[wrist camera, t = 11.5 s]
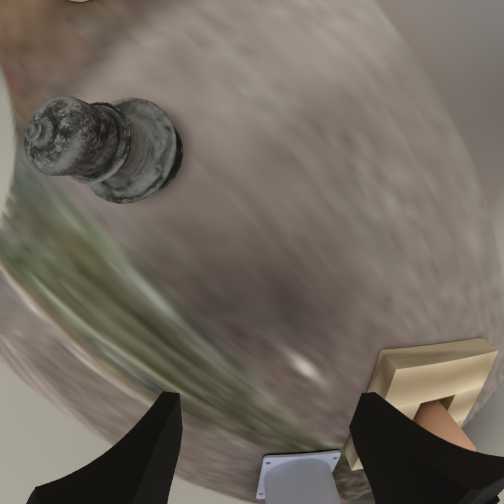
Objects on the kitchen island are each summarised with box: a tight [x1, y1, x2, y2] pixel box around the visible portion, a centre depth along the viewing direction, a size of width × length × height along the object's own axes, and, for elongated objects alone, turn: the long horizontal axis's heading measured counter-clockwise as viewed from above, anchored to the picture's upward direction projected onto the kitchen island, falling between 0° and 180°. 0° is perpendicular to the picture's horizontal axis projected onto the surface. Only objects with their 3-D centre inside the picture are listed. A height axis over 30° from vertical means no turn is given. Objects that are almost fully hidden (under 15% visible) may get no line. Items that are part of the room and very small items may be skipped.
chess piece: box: [24, 96, 183, 204], centre depth 12 cm, size 6×6×12 cm
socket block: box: [344, 338, 498, 471], centre depth 22 cm, size 13×13×3 cm
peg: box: [413, 399, 476, 452], centre depth 19 cm, size 3×3×10 cm
